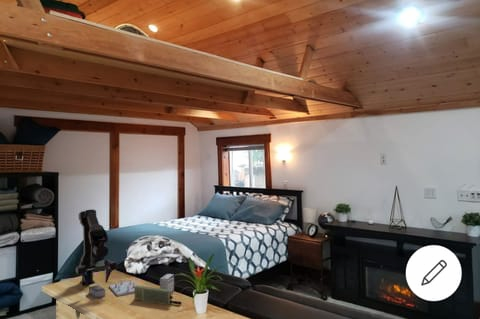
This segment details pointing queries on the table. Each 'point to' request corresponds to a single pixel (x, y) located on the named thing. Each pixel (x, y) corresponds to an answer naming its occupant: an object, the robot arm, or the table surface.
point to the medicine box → (167, 282)
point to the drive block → (97, 291)
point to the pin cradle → (123, 287)
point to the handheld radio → (154, 295)
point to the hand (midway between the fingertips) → (96, 284)
